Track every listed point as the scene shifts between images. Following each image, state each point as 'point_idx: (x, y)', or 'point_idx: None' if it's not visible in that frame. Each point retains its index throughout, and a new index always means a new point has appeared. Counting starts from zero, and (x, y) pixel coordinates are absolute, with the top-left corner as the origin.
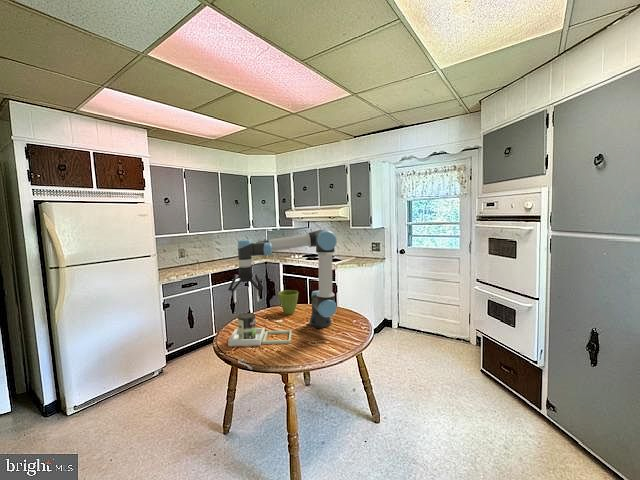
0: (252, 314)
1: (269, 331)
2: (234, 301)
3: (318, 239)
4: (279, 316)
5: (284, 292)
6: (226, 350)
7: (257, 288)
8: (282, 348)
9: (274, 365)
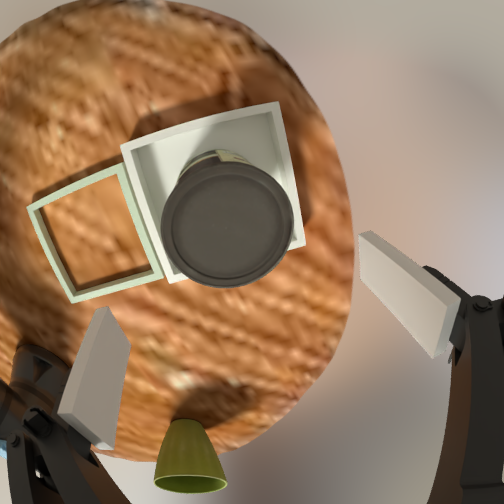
0: (200, 269)
1: (146, 276)
2: (371, 236)
3: None
4: (202, 405)
5: (216, 485)
6: (259, 66)
7: (56, 449)
8: (37, 150)
9: (32, 31)
